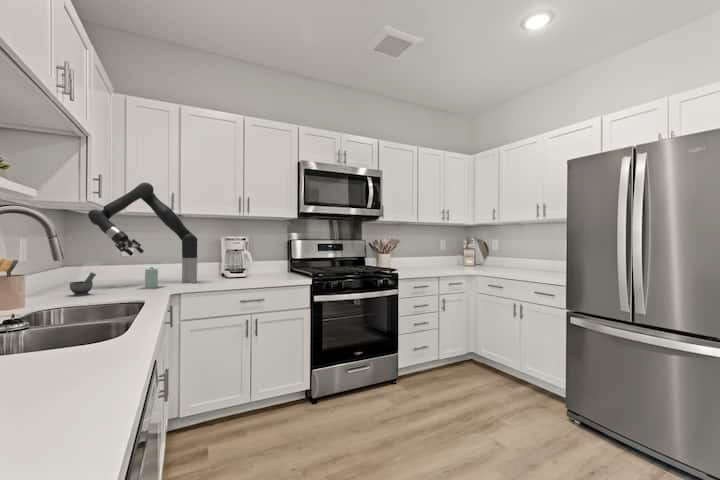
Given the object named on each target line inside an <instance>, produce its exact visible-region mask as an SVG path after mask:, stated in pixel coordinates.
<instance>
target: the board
mask: <svg viewBox="0 0 720 480" xmlns="http://www.w3.org/2000/svg"><path fill="white" fill-rule="evenodd" d="M166 287H167V285H165V286H164V285H158V288H145V286H143V287H140V288H138V290H159V289H162V288H166Z"/></svg>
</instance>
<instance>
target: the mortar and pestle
mask: <svg viewBox="0 0 720 480" xmlns="http://www.w3.org/2000/svg"><path fill="white" fill-rule="evenodd" d="M96 275H97V274H96V273H95V272H90V273H89V274H88V276H87V277H86V278H85V280H84V281H82V280H81V281H73V282H72V281H71V282H69V290H70V291H71V292H72V293H73V296H75V297H80V296H81V297H82V296H84V297H85V296H88V295H89V292H90V291H91V290H92V288H93V284H94V282H93V279H94V278H95V277H96Z"/></svg>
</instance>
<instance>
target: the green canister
mask: <svg viewBox="0 0 720 480" xmlns="http://www.w3.org/2000/svg"><path fill="white" fill-rule="evenodd" d="M158 284H159V269H158V268H154V267H153V266H151V267H149V268H145V270H144V287H145V288H158V286H159V285H158Z"/></svg>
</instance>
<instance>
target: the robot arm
mask: <svg viewBox="0 0 720 480" xmlns="http://www.w3.org/2000/svg"><path fill="white" fill-rule="evenodd" d="M154 192H155V191H154V187H153V185H152V183H151V184H150V183H149V182H141V183H139V184H138V185H137V186H136V187H135V188H133V189H132V190H130V191H129V192H127V193H126V194H124V195H122V196H120V197H119V198H117V199H115V200H113V201H110V202H109V203H107V204H105V205H104V206H103V208H102V210H99V209H91V210H89V212H88V213H87V217H88V218H89V221H90V223H91V224H93V225H95V226H98V227H99V229H100V230H101V231H102V232H103V233H104V234H105V235H106V236H107V237H108V238H109V239H110V240H111V241H112V242H113V243H114V246H115V247H116V248H117V249H118V250H119V251H120V252H123V253H124V252H125V253H126V254H127V255H129V256H131V257H132V256H133V255H134V252H133V251H132V250H131V249H134V250H137V252H139V253H140V254H143V253H144V249H143V248H141V246H142V244H141V243H139V242H138V241H137V240H136V239H134V238H133V239H132V240H131V239H129V235H127V234H126V232H124V231H123V230H122V229H121V228H119V227H118V226H117V225H115V224H114V223H113V222H112V221H110V219H111V218H112V217H113V216H114V215H116V214H118V213H120V212H122V211H123V210H125V209H126V208H128V207H129V206H130V205H131V204H133V203H135V202H136V201H138V200H142V201H143V202H144V203H146V205H148V206H149V207H150V208H151V210H152V211H153V212H154V213H155V215H157V217H158V218H159V219H160V221H161V222H162V223H164V225H165V226H166V227H167V228H169V229H170V230H171V231H172V232H173V233H175V234H176V235H177V236H178V238H179V240H180V241H181V258H182V259H181V264H182V265H181V284H183V283H184V284H185V285H186V284H187V285H188V284H189V285H190V283H191V284H198V237H196V235H194V234H193V233H192V232H191V231H190V230H189V229H187V228H186V226H185V225H184V223H183V222H182V221H181V219H180V218H179V216H178V215H177V214H176V213H175V212H174V211H173V210H172V208H171V207H169V206H168V205H166V204H165V203H163V202H162V201H161V200H160V199H159V197H157V195H156V194H155V193H154Z"/></svg>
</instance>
